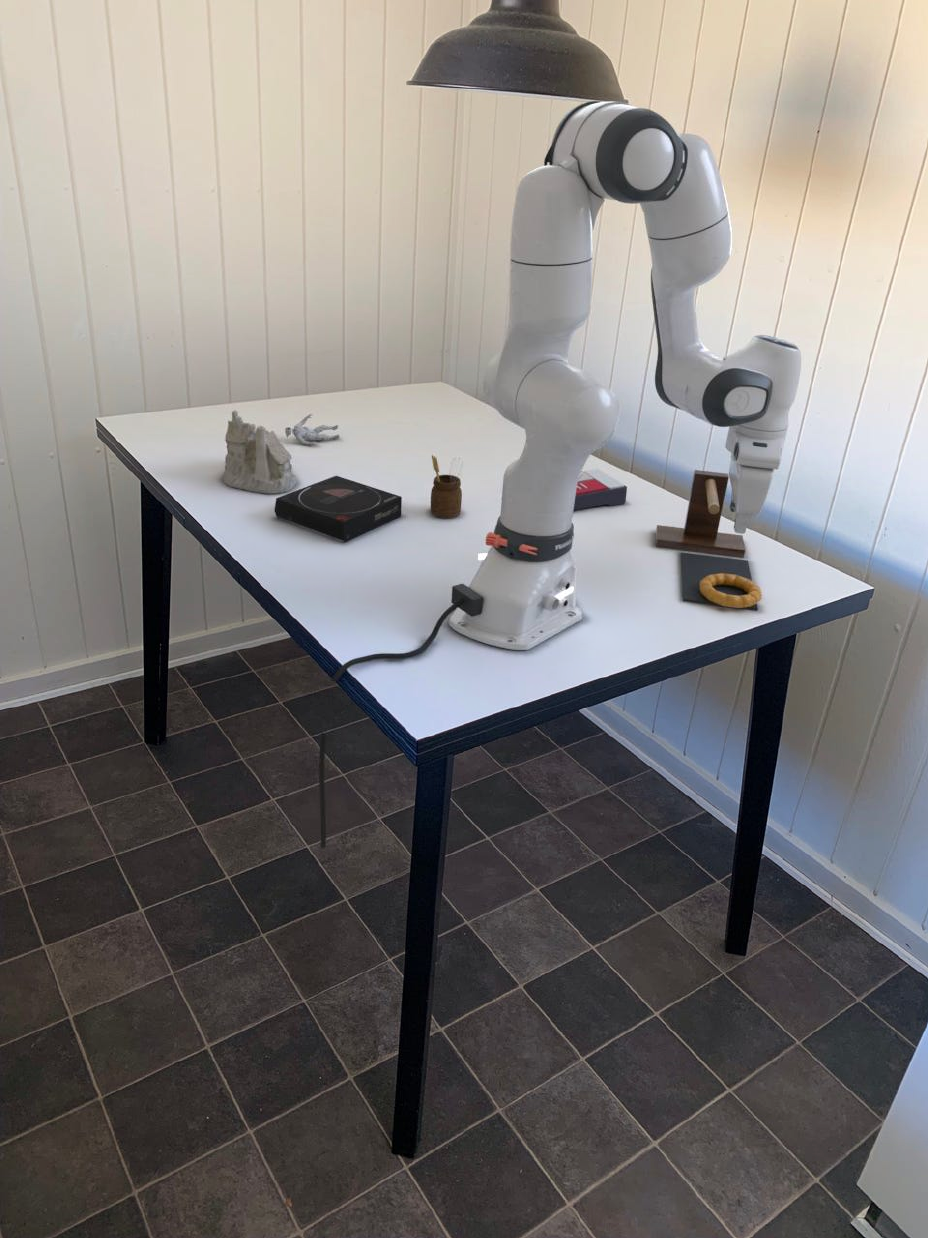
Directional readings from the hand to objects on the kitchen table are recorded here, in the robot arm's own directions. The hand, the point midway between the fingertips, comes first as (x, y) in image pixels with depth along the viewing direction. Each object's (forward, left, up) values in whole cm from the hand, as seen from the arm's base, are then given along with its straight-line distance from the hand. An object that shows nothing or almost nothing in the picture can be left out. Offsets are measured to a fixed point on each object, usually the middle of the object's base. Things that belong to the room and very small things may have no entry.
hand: (736, 521), depth 159 cm
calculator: (+21, +36, -12) cm, 43 cm away
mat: (0, +1, -12) cm, 12 cm away
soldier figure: (+15, +100, -12) cm, 102 cm away
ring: (-5, -2, -10) cm, 12 cm away
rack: (+9, +7, -12) cm, 17 cm away
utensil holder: (-3, +54, -12) cm, 56 cm away
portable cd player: (-17, +69, -12) cm, 72 cm away
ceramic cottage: (-10, +93, -12) cm, 95 cm away
